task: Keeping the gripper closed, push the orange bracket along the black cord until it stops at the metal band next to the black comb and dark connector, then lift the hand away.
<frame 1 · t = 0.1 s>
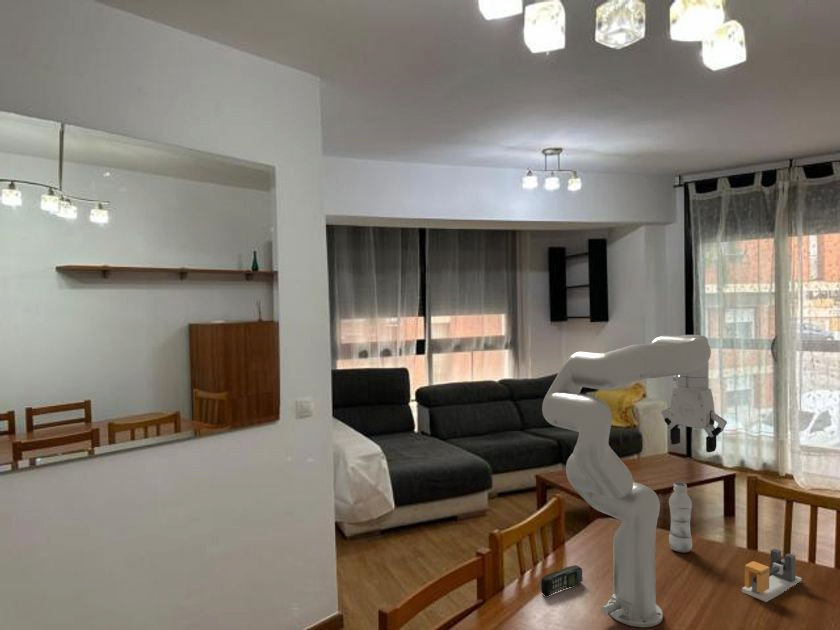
hand: (692, 447, 149), 37 cm above the table, tool pointing down, fingers open, 9 cm apart
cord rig: (772, 586, 149), on the table
plastic bottle: (680, 551, 171), on the table
orange bracket: (756, 576, 145), point 5 cm above the table, slide at 0.0 cm
mobile phone: (563, 589, 150), on the table
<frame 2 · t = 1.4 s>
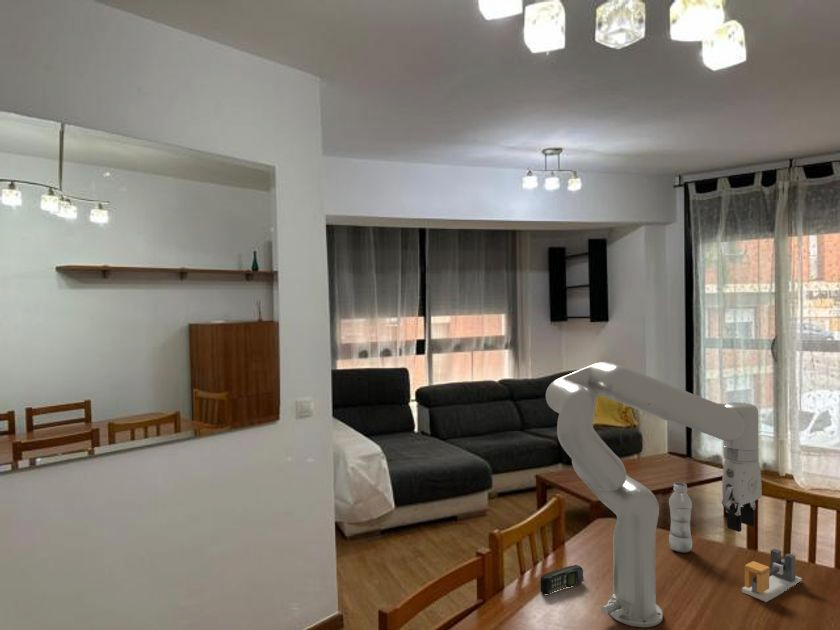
hand: (740, 526, 140), 19 cm above the table, tool pointing down, fingers open, 5 cm apart
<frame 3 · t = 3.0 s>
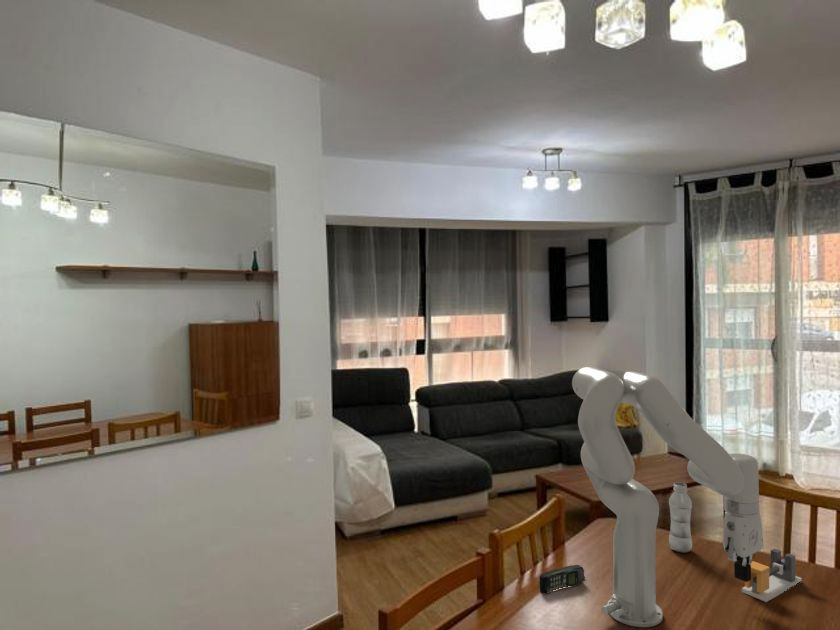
hand: (742, 578, 141), 6 cm above the table, tool pointing down, fingers closed
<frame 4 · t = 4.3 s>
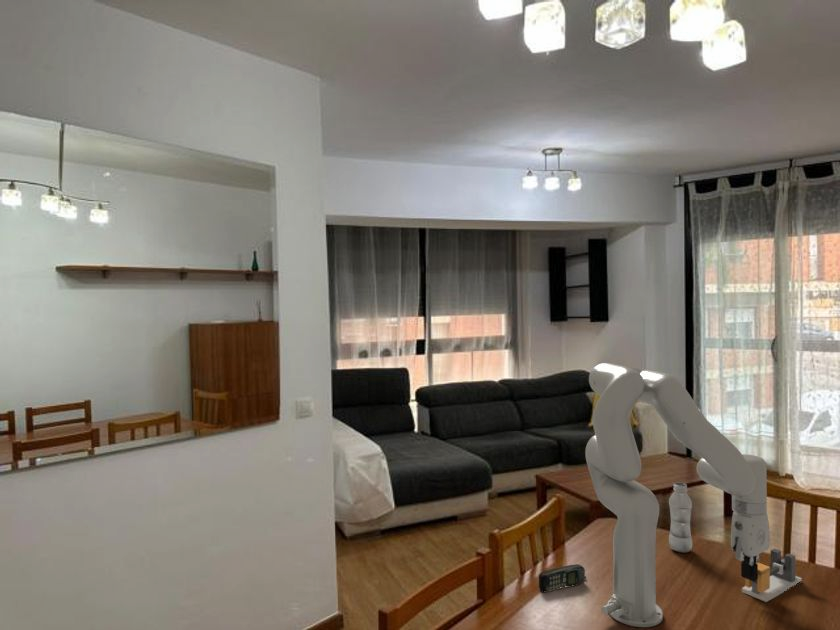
hand: (749, 578, 143), 5 cm above the table, tool pointing down, fingers closed
orange bracket: (757, 576, 145), point 5 cm above the table, slide at 0.2 cm, touching gripper
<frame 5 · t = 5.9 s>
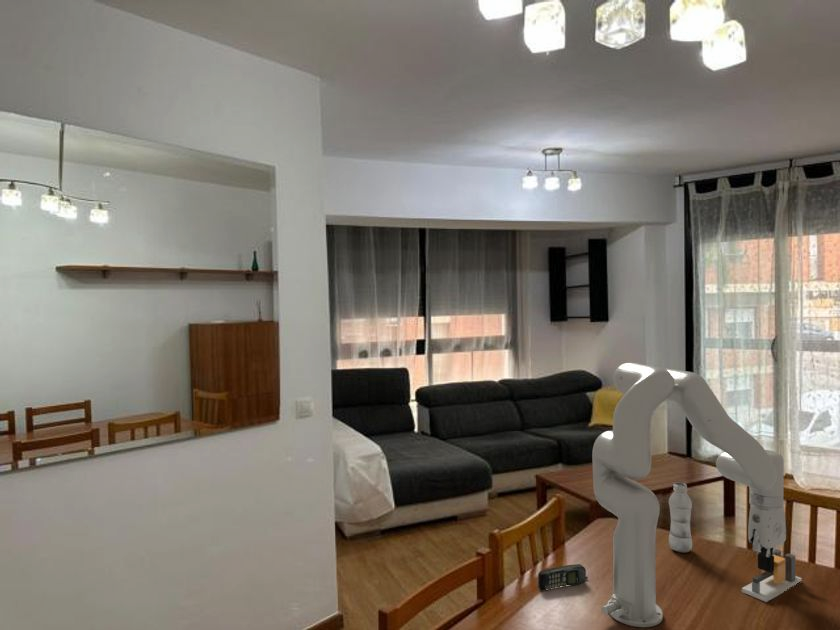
hand: (765, 569, 147), 5 cm above the table, tool pointing down, fingers closed
orange bracket: (773, 568, 149), point 5 cm above the table, slide at 8.1 cm, touching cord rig, gripper
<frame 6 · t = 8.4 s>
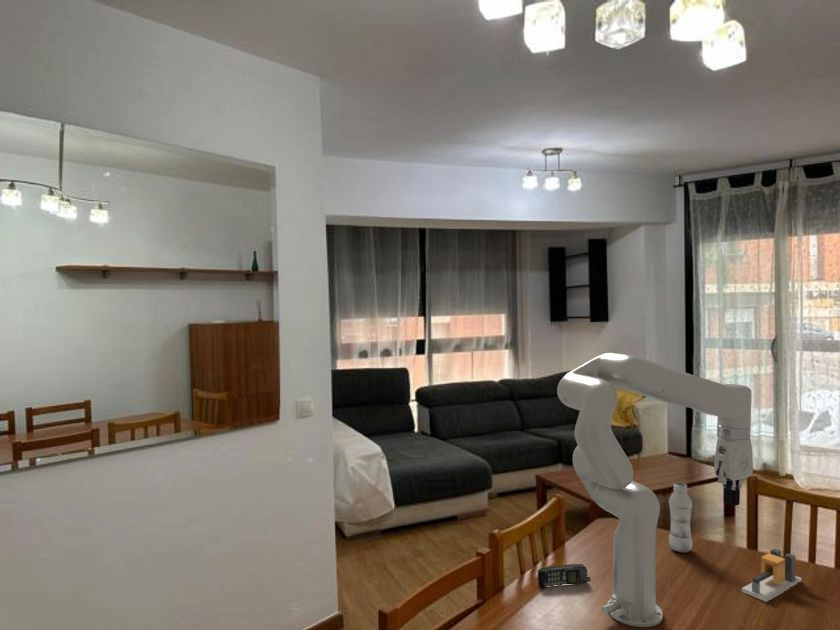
hand: (731, 503, 147), 23 cm above the table, tool pointing down, fingers closed
orange bracket: (772, 568, 149), point 5 cm above the table, slide at 7.9 cm
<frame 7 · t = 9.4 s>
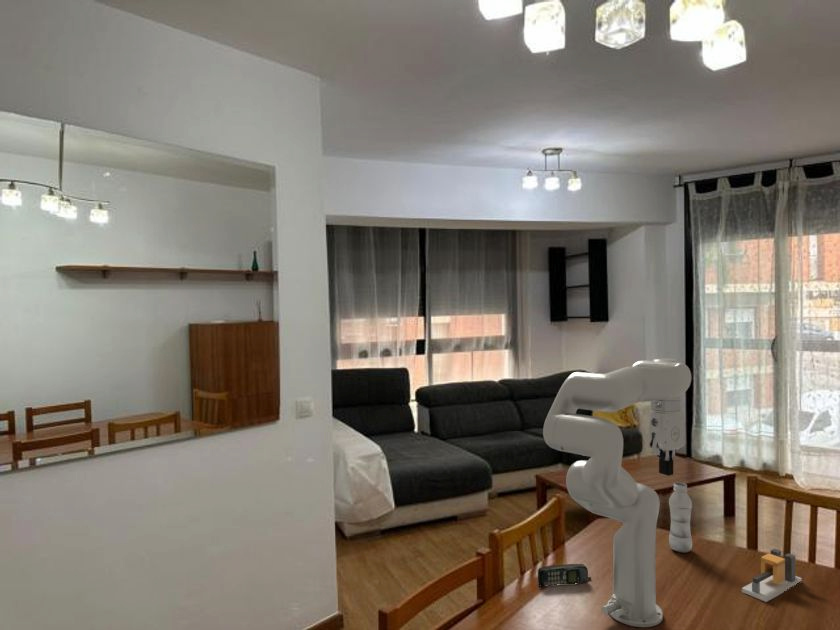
hand: (666, 473, 152), 29 cm above the table, tool pointing down, fingers closed
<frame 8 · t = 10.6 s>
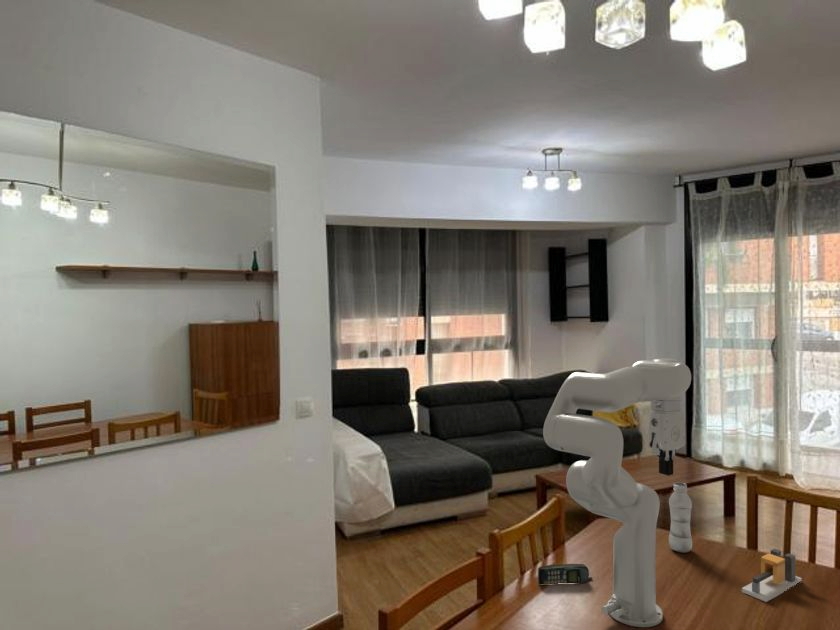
hand: (666, 473, 152), 29 cm above the table, tool pointing down, fingers closed
at the end: orange bracket slide at 7.9 cm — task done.
